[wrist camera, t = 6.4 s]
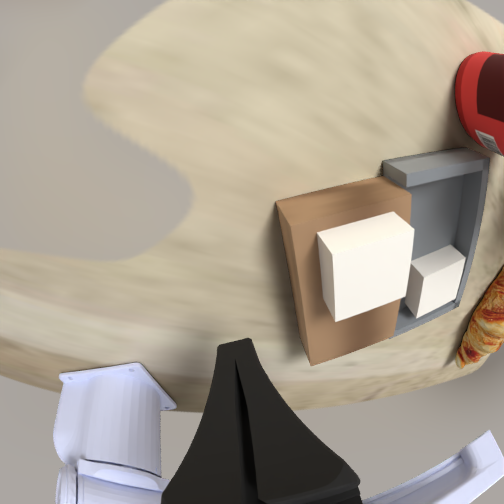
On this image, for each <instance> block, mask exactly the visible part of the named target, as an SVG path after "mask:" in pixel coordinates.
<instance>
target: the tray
mask: <svg viewBox="0 0 504 504" xmlns="http://www.w3.org/2000/svg"><path fill="white" fill-rule="evenodd" d="M489 162H490V158H488V157H486V156H484V155H482V154H480V153H478V152H476V151H473V150H471V149H469V148H467V147H464V148H456V149H449V150H442V151H436V152H429V153H423V154H417V155H411V156H405V157H400V158H394V159H389V160H383V176H384V177H386V178H388V179H389V180H391V181H392V182H394V183H395V184H397V185H398V186H400V187H402V188H403V189H405V190H406V191H407V192H409V193H410V194H412V196H411V216H410V226H411V227H412V228H414V239H413V248H412V257H411V261H413V260H415V259H418V258H420V257H422V256H425V255H427V254H430V253H432V252H434V251H437V250H439V249H441V248H444V247H446V246H448V245H450V244H451V245H452V246H453V247H454V248H455V249H457V250H458V251H459V252H460V253H461V254H462V255H463V256H464V257H465V263H464V267H463V272H462V276H461V280H460V284H459V287H458V291H457V295H456V298H455V299H454V300H452V301H450V302H448V303H446V304H444V305H442V306H440V307H438V308H436V309H434V310H432V311H430V312H428V313H426V314H424V315H422V316H420V317H418V318H416V317H415V316H414V315H413V313H412V312H411V311H410V309H409V308H408V306H407V305H406V304H405V297H406V296H405V297H402V298H401V300H400V306H399V311H398V317H397V322H396V327H395V331H394V336H392V337H390V338H389V339H391V338H393V337H395V336H398V335H400V334H402V333H405V332H407V331H409V330H411V329H413V328H416V327H418V326H420V325H422V324H424V323H426V322H429V321H431V320H433V319H435V318H437V317H439V316H441V315H443V314H445V313H447V312H449V311H451V310H453V309H455V308H456V307H458V306H459V304H460V301H461V298H462V295H463V292H464V288H465V285H466V282H467V279H468V275H469V272H470V268H471V265H472V261H473V257H474V253H475V249H476V245H477V240H478V236H479V231H480V226H481V221H482V216H483V210H484V204H485V197H486V190H487V182H488V173H489Z"/></svg>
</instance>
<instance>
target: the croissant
mask: <svg viewBox="0 0 504 504" xmlns="http://www.w3.org/2000/svg"><path fill="white" fill-rule="evenodd" d="M503 340H504V266H503V268H502V271H501V273H500V274H499V275H498V277H497V278H496V279H495V280H494V282H493V283H492V284H491V285H490V287H489V288H488V290H487V291H486V293H485V295H484V297H483V299H482V301H481V302H480V303H479V305H478V306H477V308H476V309H475V311H474V313H473V315H472V317H471V320H470V322H469V325H468V329H467V332H465V334H464V336H463V339H462V343H461V346H460V348H459V349H458V351H457V354H456V358H455V360H456V364H457V366H458V367H459V368H461V369H462V368H463V367H464V366H465V365H468V364H473V363H477V362H478V361H479V359H480V358H481V357H482V356H486V355H487V354H489V353H493V352H496V351H497V350H498V349H499V348H500V347H501V345H502V344H503V343H504V341H503Z"/></svg>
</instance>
